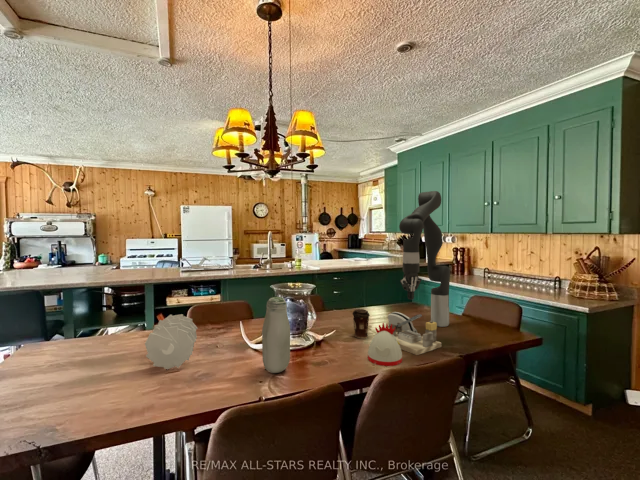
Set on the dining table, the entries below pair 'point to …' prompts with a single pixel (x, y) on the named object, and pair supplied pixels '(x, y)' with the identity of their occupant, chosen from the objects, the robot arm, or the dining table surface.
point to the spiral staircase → (171, 341)
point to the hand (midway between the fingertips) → (410, 299)
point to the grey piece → (400, 321)
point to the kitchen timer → (385, 348)
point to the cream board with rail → (416, 340)
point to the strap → (408, 321)
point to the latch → (431, 325)
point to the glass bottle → (276, 336)
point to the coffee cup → (361, 323)
